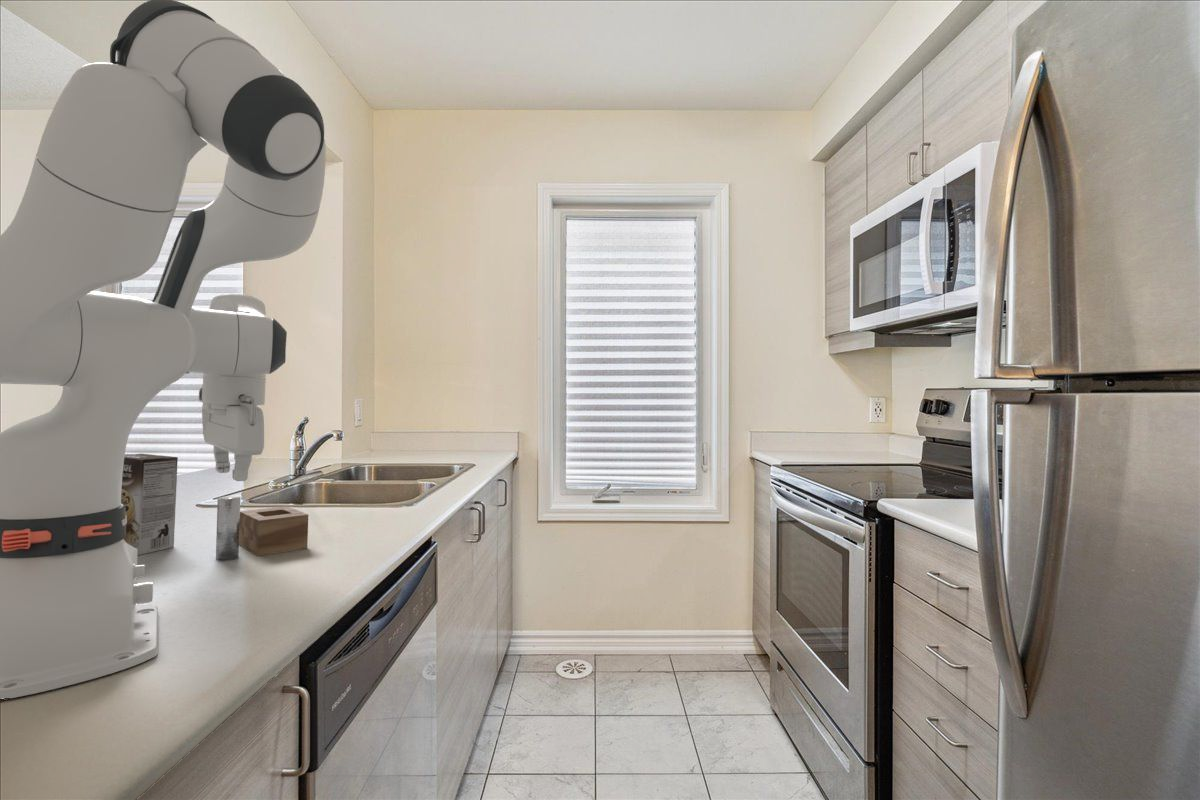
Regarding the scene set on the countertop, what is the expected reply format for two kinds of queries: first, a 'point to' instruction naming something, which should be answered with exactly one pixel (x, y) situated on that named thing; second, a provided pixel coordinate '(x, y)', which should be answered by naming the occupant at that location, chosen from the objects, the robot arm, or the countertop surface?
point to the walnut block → (273, 530)
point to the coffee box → (149, 501)
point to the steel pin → (228, 528)
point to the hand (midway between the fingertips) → (230, 476)
